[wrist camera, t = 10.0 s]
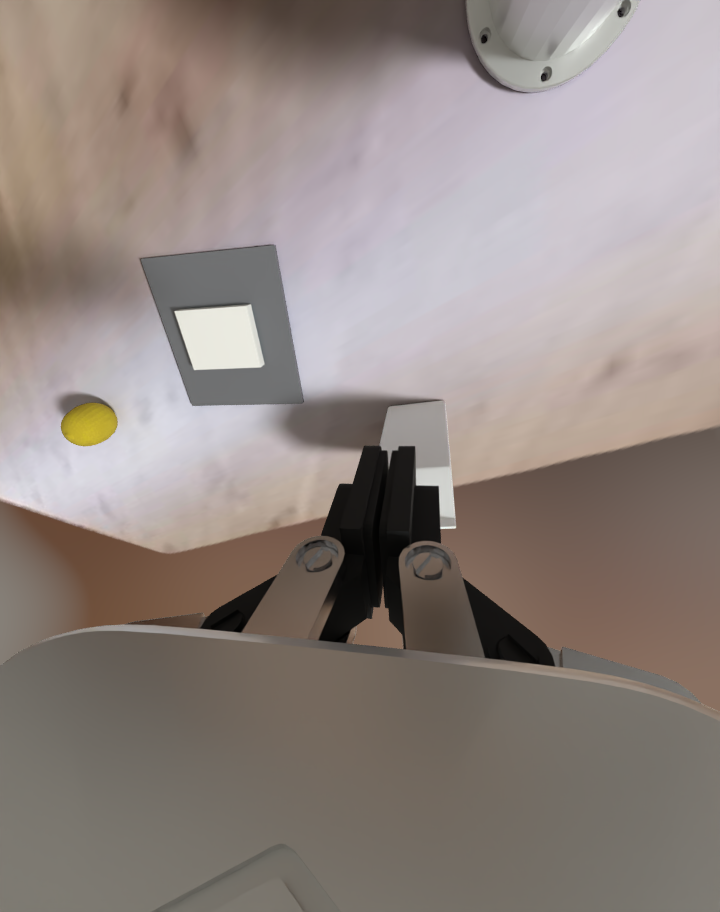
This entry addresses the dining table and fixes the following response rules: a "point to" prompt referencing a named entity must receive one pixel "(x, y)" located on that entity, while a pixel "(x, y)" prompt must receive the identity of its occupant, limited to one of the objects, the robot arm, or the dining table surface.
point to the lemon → (89, 424)
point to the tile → (221, 337)
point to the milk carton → (424, 448)
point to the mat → (229, 284)
